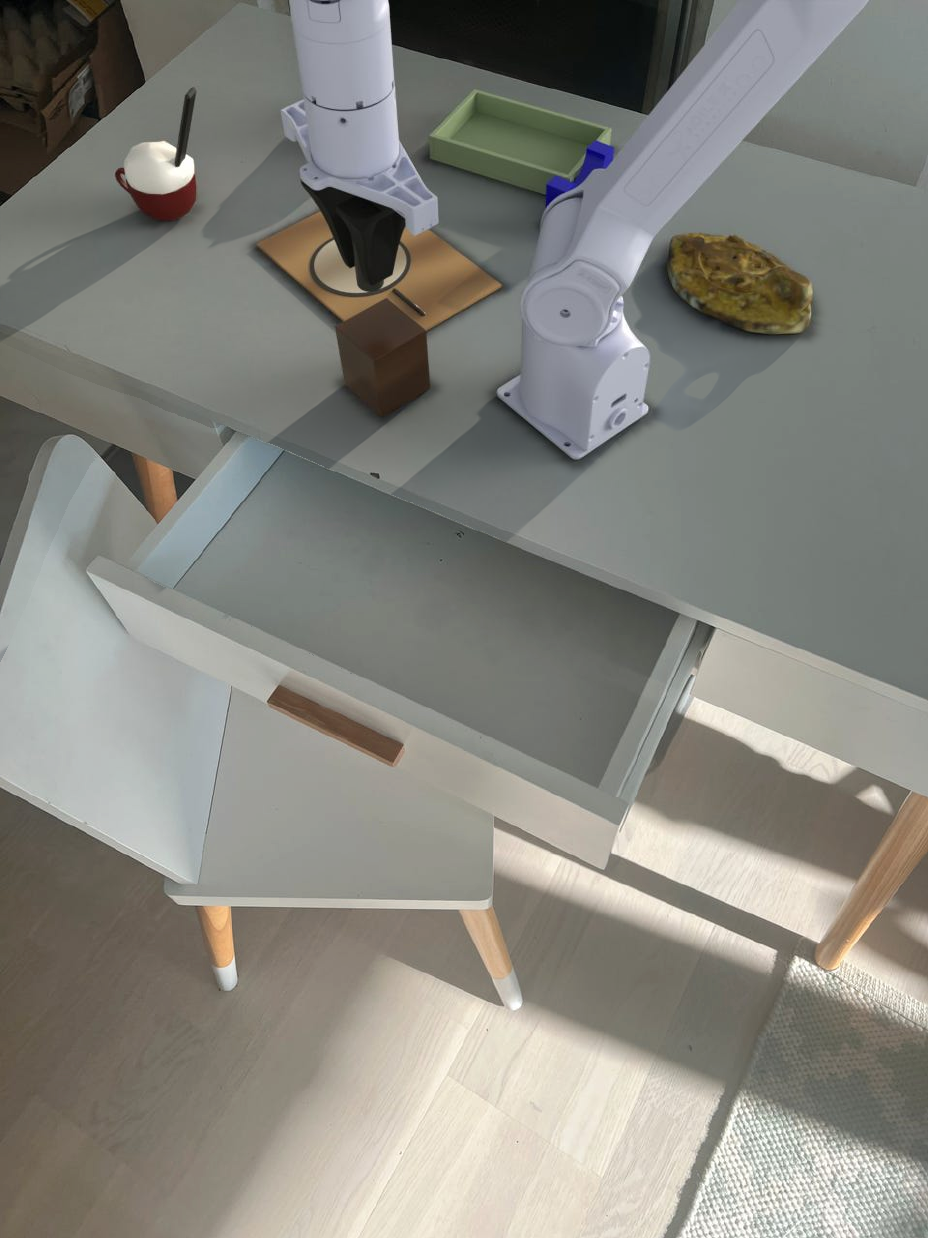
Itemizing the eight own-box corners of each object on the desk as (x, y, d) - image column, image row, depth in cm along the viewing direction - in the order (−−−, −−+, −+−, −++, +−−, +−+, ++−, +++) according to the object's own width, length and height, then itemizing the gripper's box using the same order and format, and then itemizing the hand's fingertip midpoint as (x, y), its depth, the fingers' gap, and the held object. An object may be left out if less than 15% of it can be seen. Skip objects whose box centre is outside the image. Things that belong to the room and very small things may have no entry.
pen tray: (609, 151, 97) (611, 127, 95) (568, 202, 93) (570, 178, 91) (474, 111, 102) (474, 88, 100) (429, 158, 97) (428, 135, 95)
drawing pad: (501, 287, 87) (501, 281, 87) (382, 356, 83) (382, 351, 82) (370, 187, 95) (370, 182, 95) (256, 246, 91) (255, 241, 90)
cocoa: (115, 210, 94) (69, 84, 84) (163, 177, 97) (125, 51, 87) (186, 247, 91) (148, 121, 81) (234, 212, 94) (202, 85, 84)
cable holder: (576, 237, 90) (579, 197, 87) (544, 223, 91) (546, 183, 88) (623, 192, 93) (628, 152, 90) (591, 179, 95) (595, 139, 91)
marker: (390, 283, 74) (383, 212, 69) (367, 296, 73) (359, 224, 68) (373, 269, 75) (365, 197, 70) (350, 281, 74) (341, 210, 69)
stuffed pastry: (633, 283, 88) (773, 365, 82) (635, 240, 84) (782, 323, 78) (701, 224, 91) (842, 300, 85) (706, 180, 87) (855, 256, 81)
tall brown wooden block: (430, 388, 81) (426, 329, 76) (381, 418, 79) (373, 360, 74) (393, 355, 83) (386, 296, 78) (344, 384, 81) (334, 326, 76)
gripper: (228, 59, 63) (267, 243, 74) (367, 163, 57) (386, 346, 68) (319, 20, 65) (343, 204, 77) (462, 116, 59) (465, 300, 71)
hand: (368, 268), depth 73 cm, fingers closed on marker, 2 cm apart
